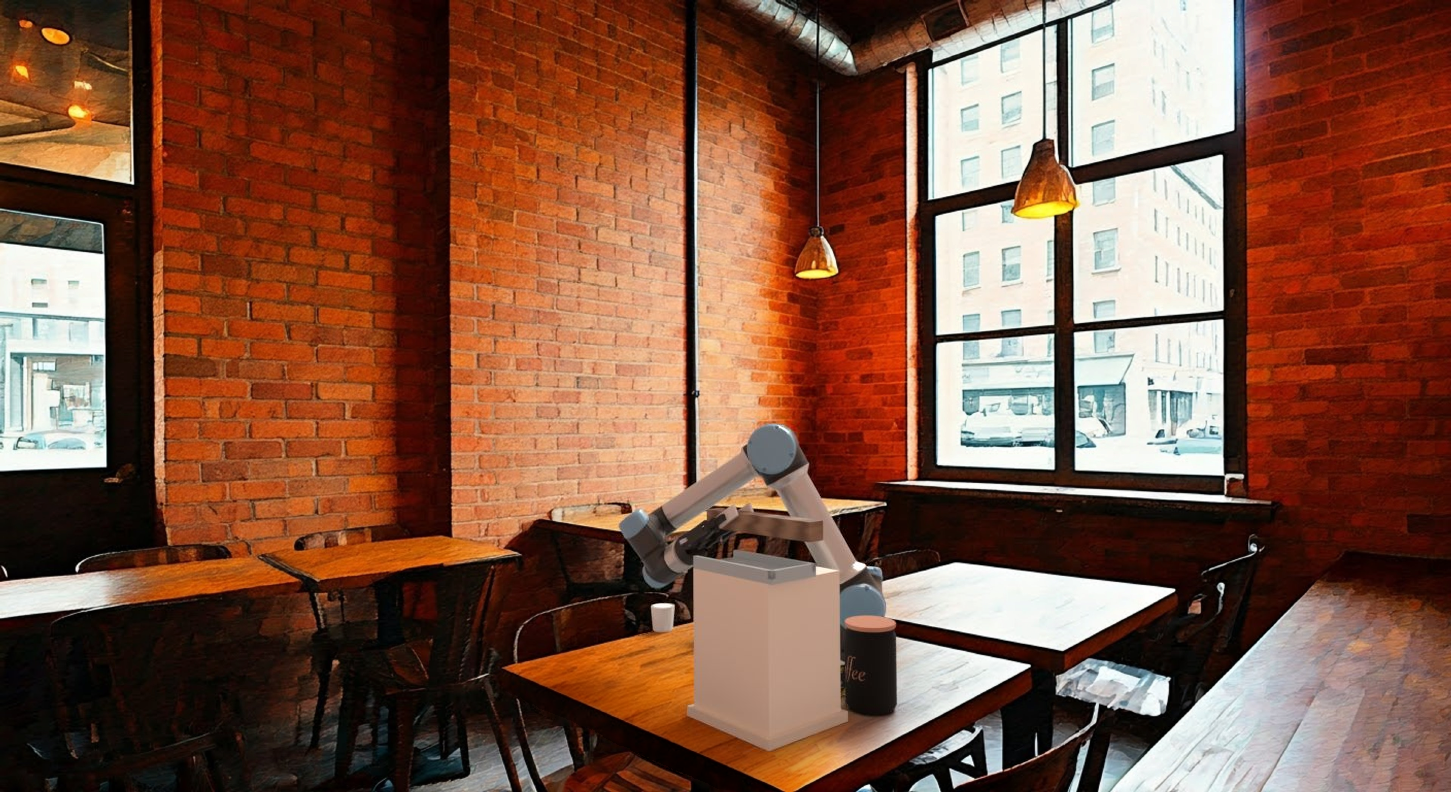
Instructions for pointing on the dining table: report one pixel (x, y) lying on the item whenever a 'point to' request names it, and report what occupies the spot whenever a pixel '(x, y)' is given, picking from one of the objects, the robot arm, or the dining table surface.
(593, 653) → the dining table surface
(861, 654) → the coffee jar
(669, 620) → the white cup
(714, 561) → the tray
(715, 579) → the plinth
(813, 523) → the walnut bar
